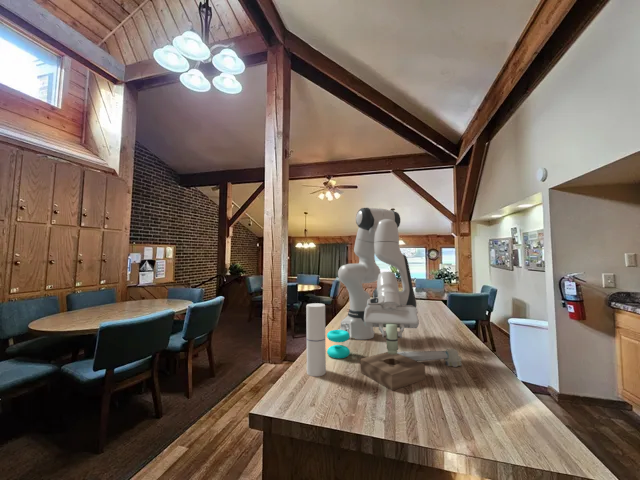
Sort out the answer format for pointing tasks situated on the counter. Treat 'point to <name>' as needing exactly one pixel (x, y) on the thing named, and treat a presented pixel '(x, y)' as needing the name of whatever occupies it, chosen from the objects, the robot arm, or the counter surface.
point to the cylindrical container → (315, 339)
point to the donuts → (338, 350)
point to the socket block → (392, 370)
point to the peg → (392, 338)
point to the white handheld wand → (435, 356)
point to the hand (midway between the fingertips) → (392, 336)
